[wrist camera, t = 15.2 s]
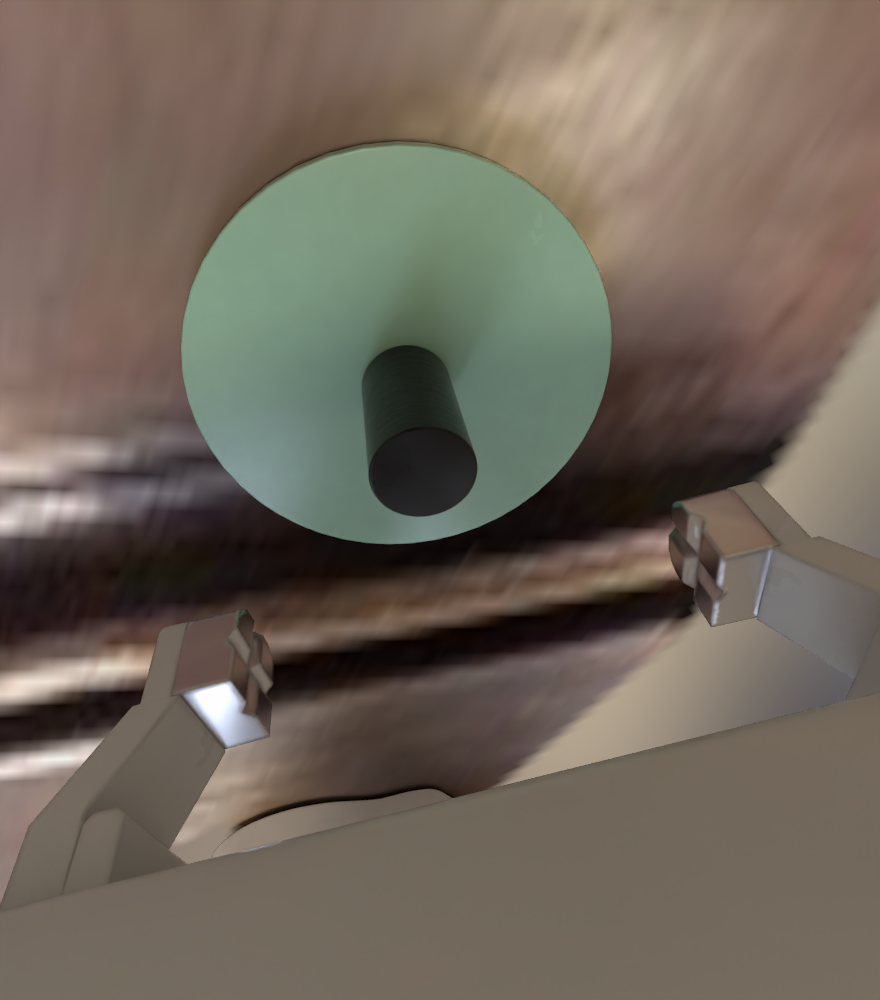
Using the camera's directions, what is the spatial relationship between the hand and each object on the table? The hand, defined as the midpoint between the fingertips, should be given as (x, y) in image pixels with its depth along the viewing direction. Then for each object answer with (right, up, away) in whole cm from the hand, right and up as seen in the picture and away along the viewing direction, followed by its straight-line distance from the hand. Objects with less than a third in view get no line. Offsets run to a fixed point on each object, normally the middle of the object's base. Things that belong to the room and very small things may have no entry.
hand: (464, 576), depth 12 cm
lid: (-2, +5, +7) cm, 9 cm away
